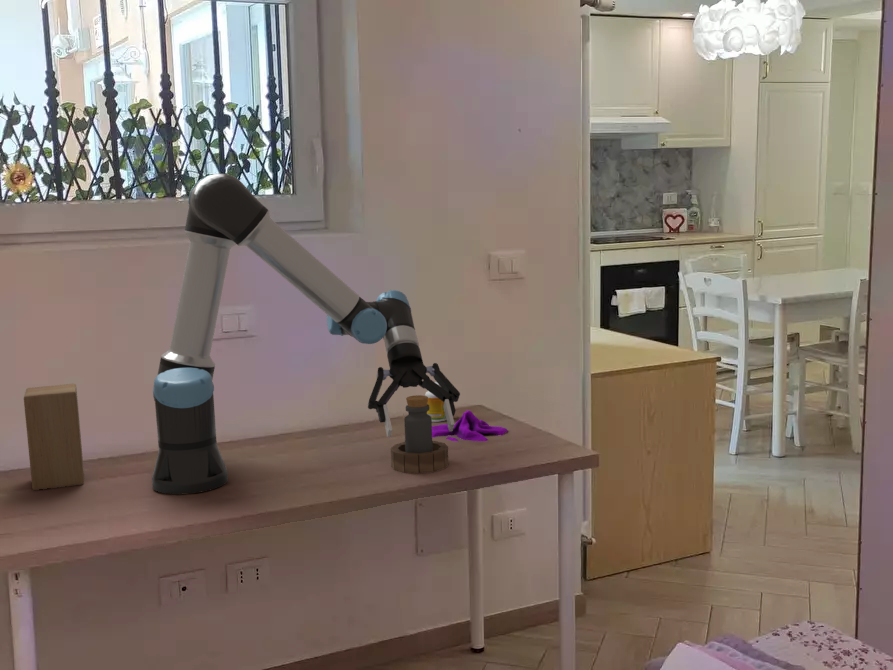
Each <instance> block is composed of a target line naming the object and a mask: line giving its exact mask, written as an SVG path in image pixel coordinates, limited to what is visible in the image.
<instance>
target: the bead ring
mask: <svg viewBox="0 0 893 670" xmlns="http://www.w3.org/2000/svg"><path fill="white" fill-rule="evenodd" d="M432 446H433V451H432V452H425V453H407V452H406V450H405V441H403V442H400V443H399V442H398V443H396V444H394V445H393V446H391V447H390V463H391V464H390V467H391V468H392V469H393V470H394V471H395V472H396V471H397V472H401V473H404V474H417V475H418V474H429V473H435V472H438V471H439V472H440V471H442V470H445V469H446V468H447V467H448V466H449V446H448V445H447V444H446V443H445V442H441V441H437V440H432Z"/></svg>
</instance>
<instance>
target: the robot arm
mask: <svg viewBox="0 0 893 670" xmlns="http://www.w3.org/2000/svg"><path fill="white" fill-rule="evenodd" d="M186 216H187V217H186V221H185V222H186V223H185V226H184V233H185V235H186V237H187V238H188V239H189V245H188V250H187V256H186V259H185V260H186V261H185V267H184V271H183V272H184V273H183V276H182V277H183V278H182V281H181V288H180V291H179V293H180V294H179V297H178V303H177V309H176V313H175V320H174V324H173V325H174V326H173V330H172V335H171V341H170V346H169V349H168V350H167V351H165V352H164V353H162V354H161V355H160V361H159V367H158V371H157V376H155V377H154V381H153V387H152V396H153V401H154V406H155V416H156V417H155V419H156V432H157V433H156V434H157V443H158V452H157V457H156V460H155V463H154V468H153V472H152V475H151V482H152V489H153V490H154V491H155V492H157V491H158V492H157V493H160V492H162V493H161V494H166V493H170V494H169V495H183V494H182V493H190V494H195V493H194V492H198V493H201V491H203V492H207V491H206V490H208V491H210V489H212V490H214V488H215V489H218V488H220V487H222V486H224V485H225V484H226V483H228V481H229V480H228V479H229V477H228V469H227V466H226V463H225V461H224V459H223V457H222V454H221V452H220V449H219V446H218V444H217V443H218V442H217V429H216V415H215V414H216V413H215V399H214V391H215V386H214V382H213V380H214V379H213V378H214V373H215V368H216V363H215V362H214V361H213V359H212V358H211V357H212V356H211V351H212V345H213V341H214V340H213V339H214V335H215V329H216V326H217V325H216V324H217V319H218V316H219V315H218V314H219V308H220V304H221V299H222V295H223V288H224V285H225V278H226V272H227V269H228V268H227V267H228V261H229V257H230V252H231V249H232V248H233V247H234V246H236V245H237V246H245V247H247V248H248V249H249V250H250V251H252V252H253V253H254V254H255V255H256V256H258V257H259V258H260V259H261V260H262V261H264V262H265V263H266V264H267V265H268V266H269V267H271V268H272V269H273V270H274V271H275V272H277V274H279V275H280V276H281V277H282V278H283V279H285V280H286V281H287V282H288V283H289V284H290V285H291V286H293V287H294V288H295V289H297V290H298V291H299V293H301V294H302V295H304V296H305V297H306V298H307V299H308V300H310V302H312V303H313V304H314V305H315V306H317V307H318V308H319V309H320V310H321V311H322V312H324V313H325V314H326V325H327V330H328V332H329V334H330V335H332V336H342V337H343V336H350V337H352V338H353V339H355V340H356V341H357V342H358V343H361V344H366V345H373V344H377V343H378V342H380V341H381V340H383V342H384V347H385V352H386V354H387V356H386V357H387V361H388V366H389V369H384V367H382V366H379V367H378V368H377V371H376V380H375V383H374V386H373V388H372V392H371V393H370V396H369V398H368V399H369V400H368V403H367V408H368V410H372V409H373V410H375V411H376V413H377V416H378V420H379V422H380V423H383V424H384V428H385V433H386V437H387V438H391V437H392V433H393V427H392V422H391V418H390V417H391V416H390V412H389V408H388V404H387V403H388V402H389V401H390V399H391V398H392V397H393V395H394V394H395V393H396V391H398V390H399V388H400V387H402V388H403V389H404V388H405V389H407V388H410V387H412V388H413V387H414V388H415V387H418V386H419V387H421V389H425V390H427V391H429V392H431V393H432V394H433V395H435V396H436V397H437V398H439V399H440V400H441V401H443V402H444V405H443V408H444V412H445V416H446V420H445V421H446V424H448V428H449V431H453V428H454V425H455V424H456V423H455V419H454V417H455V414H456V407H455V403H457V402H458V401H459V399H460V396H461V392H460V391H459V390H458V389H457V388H456V386H454V385H453V382H451V381H450V380H449V379H448V377H446V375H445V374H444V373H443V372H442V371H441V369H440V366H439V363H437V362H433V364H432V365H430V366H426V365H425V364H424V361H423V357H422V353H421V349H420V345H419V340H418V336H417V332H416V328H415V324H414V319H413V314H412V308H411V306H410V305H411V304H410V302H409V299H408V298H407V296H406V294H404V293H403V292H402V291H400V290H395V289H393V290H392V289H390V290H389V291H387V292H385V291H383V292H382V293H380V294H379V295H378V296H377V297H376V300H375V301H366V300H364V299H363V298H362V297H361V296H360V295H359V294H358V293H356V292H355V291H354V290H353V288H351V287H350V286H349V285H348V284H346V283H345V281H343V280H342V279H341V278H339V277H338V276H337V275H336V274H335V273H334V272H333V271H331V270H330V269H329V268H328V267H327V265H325V264H324V263H323V262H321V261H320V260H319V259H317V257H316V256H315V255H313V254H312V253H311V252H310V251H309V250H308V249H306V248H305V247H304V246H303V245H302V244H300V243H299V242H298V240H296V239H295V238H294V237H293V236H292V235H290V234H289V233H288V232H287V231H285V230H284V229H283V228H282V227H281V226H280V225H279V224H278V223H277V222H275V221H274V219H272V218H271V215H270V210H269V209H268V208H267V207H266V206H264V205H263V204H262V203H261V202H260V201H259V200H258V199H257V197H255V196H254V194H253V193H251V191H250V190H249V189H248V188H247V186H246V185H245V184H244V183H243V182H242V181H241V180H240V179H239V178H237V177H235V176H233V175H231V174H227V173H214V174H209V175H206V176H204V177H202V178H201V179H199V180H198V181H197V182H196V183H195V184H194V185H193V186H192V188H191V190H190V192H189V196H188V210H187V215H186ZM428 374H429V375H428ZM388 376H389V378H390V379H392V382H391V383H390V385H389V386H388V387H387V388H386V390H385V391H384V392H383V394H382V395H381V396H380V397H379V400H377V398H378V396H379V395H380V390H381V388H382V386H383V381H385V380H387V378H388ZM430 377H433V379H434V380H435V381H433V380H432V379H431V378H430ZM435 382H437V383H438V384H439V385H440V386H441V387H440V386H439V385H437V384H436V383H435ZM217 487H218V488H217ZM171 493H172V494H171ZM173 493H174V494H173Z"/></svg>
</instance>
